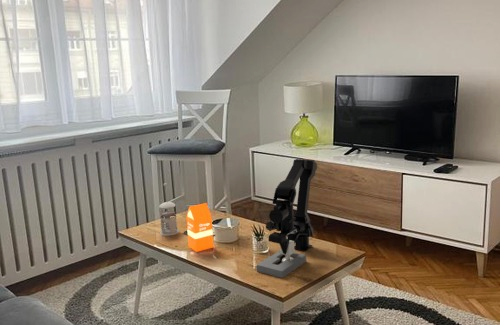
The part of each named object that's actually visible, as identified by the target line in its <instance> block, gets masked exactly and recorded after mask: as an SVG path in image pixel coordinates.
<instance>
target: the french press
mask: <svg viewBox="0 0 500 325" xmlns="http://www.w3.org/2000/svg"><path fill="white" fill-rule="evenodd" d="M163 187H165V188H167V187H168V183H167V182H166V183H165V182H164V183H163ZM165 195H166V196H165V197H166V200H168V196H167V192H165ZM158 207H159V210H158V213H159V214H158V215H159V218H160V228H161V231H160V232H159V234H160V235H161V236H166V237H169V236H175V235H177V234H179V233H180V230H179V229H178V222H177V214H176V212H175V211H173V210H169V209H172V208H175V207H176V203H174V202H172V201H165V202H163V203H160V205H159V206H158ZM160 210H161V211H160ZM164 210H165V211H164ZM160 212H161V213H160Z"/></svg>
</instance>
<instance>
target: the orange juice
mask: <svg viewBox="0 0 500 325" xmlns="http://www.w3.org/2000/svg"><path fill="white" fill-rule="evenodd" d="M186 228H187V230H186V231H188V235H187V238H188V239H187V240H188V242H187V243H188V248H190V249H192V250H193V251H194V252H196V253H197V252H200V251H201V252H202V251H204V250H209V249H212V248H214V236H213V233H214V232H213V220H212V213H211V212H210V209H209V206H208V203H207V202H203V203H201V204H195V205H191V206H189V207H188V211H187V214H186Z"/></svg>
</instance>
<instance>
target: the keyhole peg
mask: <svg viewBox="0 0 500 325" xmlns="http://www.w3.org/2000/svg"><path fill="white" fill-rule="evenodd" d="M294 246H295V244H294V241H292V240H290V241H289V245H288V249H287V252H286V254H284V253H283V251H282V249H281V248H280V250H281V254H284V255H285V257H282V258H281V263H282V262H284V261H285V260H289V261H291V260H292V259H294V258H292V257H290V255H291V254H293V253H295V249H294Z"/></svg>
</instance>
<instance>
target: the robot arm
mask: <svg viewBox="0 0 500 325" xmlns="http://www.w3.org/2000/svg"><path fill="white" fill-rule="evenodd" d="M317 169H318V163H317V162H316V161H315V160H314V159H303V158H296V159H293V162H292V166H291V168H290V170H289V171H288V173H287V176H286V177H285V178H284V180H282V181H280V182H279V183H278V185H277V187H276V188H275V191H274V193H273V200H272V205H274V206H273V209H272V210H271V211H270V212H269V214H268V217H269V220H270V221H266V222H265V229H266V230H267V231H269V232H272V231H273V232H272V233H270V234H268V237H267V238H268V242H270V243H274V244H275V243H276V244H279V246H280V250H281V249H282V251H283V253H284V254H286V252H287V249H288V245H289V241H290V240H292V241H294V250H298V251H302V252H306V251H308V250H310V249H311V248H312V247H313V245H312V244H310V237H312V236H314V227H313V226H312V224H311V219H310V217H309V214H308V208H309V199H310V191H311V190H310V189H311V181H312V179H313V178H314V176H315V175H316V171H317ZM298 182H299V184H298ZM297 184H298V185H299V186H298V192H297V188H296V186H297ZM296 196H297V202H296V210H295V213H294V203H295V198H296ZM274 230H276V231H274Z"/></svg>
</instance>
